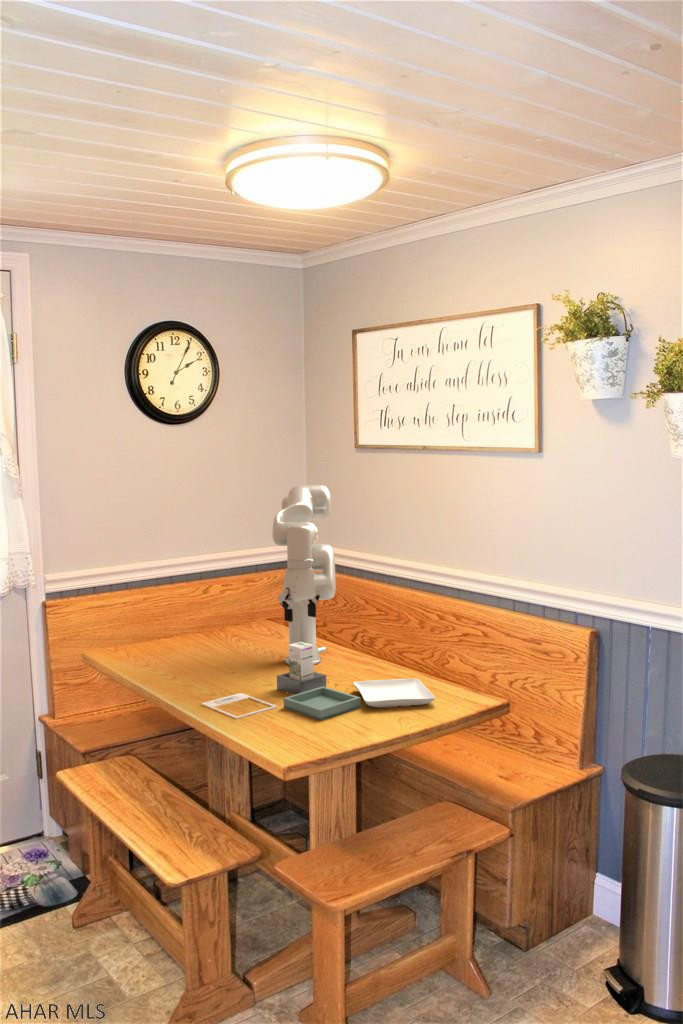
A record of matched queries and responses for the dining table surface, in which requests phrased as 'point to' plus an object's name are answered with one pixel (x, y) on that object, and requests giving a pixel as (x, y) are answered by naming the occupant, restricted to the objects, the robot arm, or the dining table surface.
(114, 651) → the dining table surface
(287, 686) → the sleeve
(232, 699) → the photo frame
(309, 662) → the syrup box
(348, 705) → the tray
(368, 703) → the salad plate
